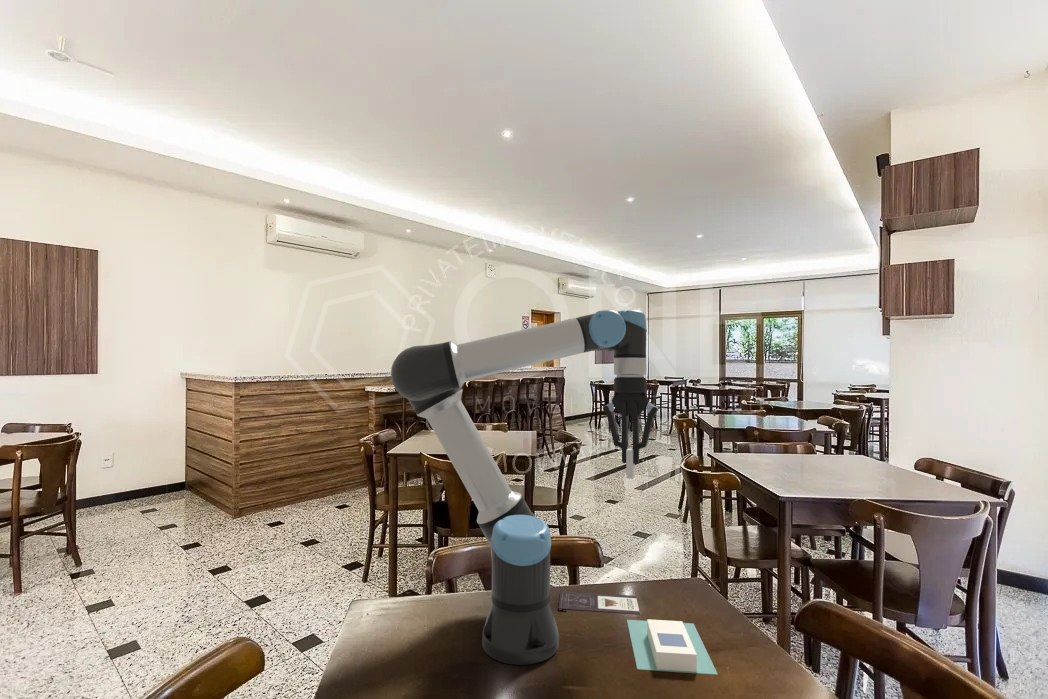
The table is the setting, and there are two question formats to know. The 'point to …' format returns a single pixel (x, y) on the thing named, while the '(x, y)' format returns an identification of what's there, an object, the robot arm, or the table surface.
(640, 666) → the mat
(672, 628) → the card box
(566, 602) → the chocolate bar
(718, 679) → the table surface
